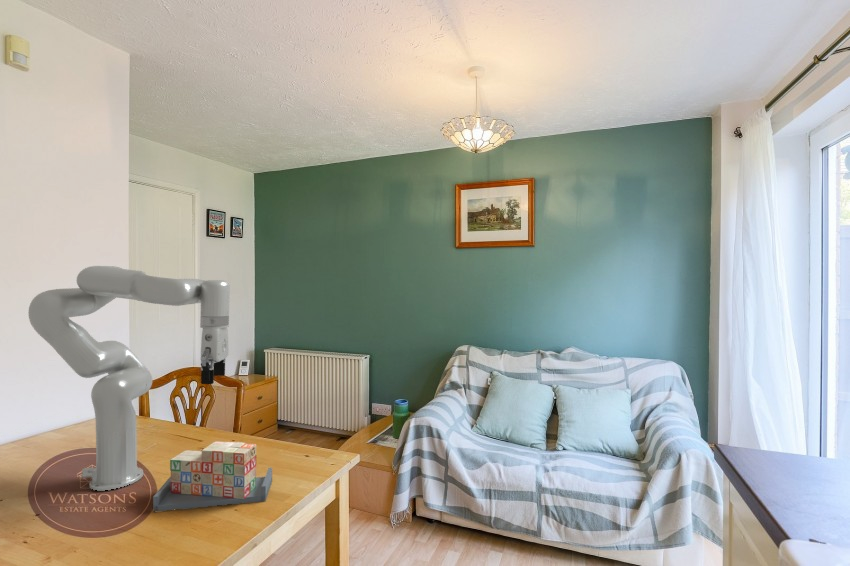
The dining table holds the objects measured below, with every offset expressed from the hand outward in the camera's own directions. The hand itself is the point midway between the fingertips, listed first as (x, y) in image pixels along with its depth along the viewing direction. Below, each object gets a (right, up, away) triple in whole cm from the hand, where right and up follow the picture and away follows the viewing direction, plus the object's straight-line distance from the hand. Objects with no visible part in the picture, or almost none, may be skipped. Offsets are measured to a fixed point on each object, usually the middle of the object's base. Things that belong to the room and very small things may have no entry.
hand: (213, 379), depth 123 cm
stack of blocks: (+5, -28, -10) cm, 30 cm away
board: (+6, -30, -9) cm, 32 cm away
